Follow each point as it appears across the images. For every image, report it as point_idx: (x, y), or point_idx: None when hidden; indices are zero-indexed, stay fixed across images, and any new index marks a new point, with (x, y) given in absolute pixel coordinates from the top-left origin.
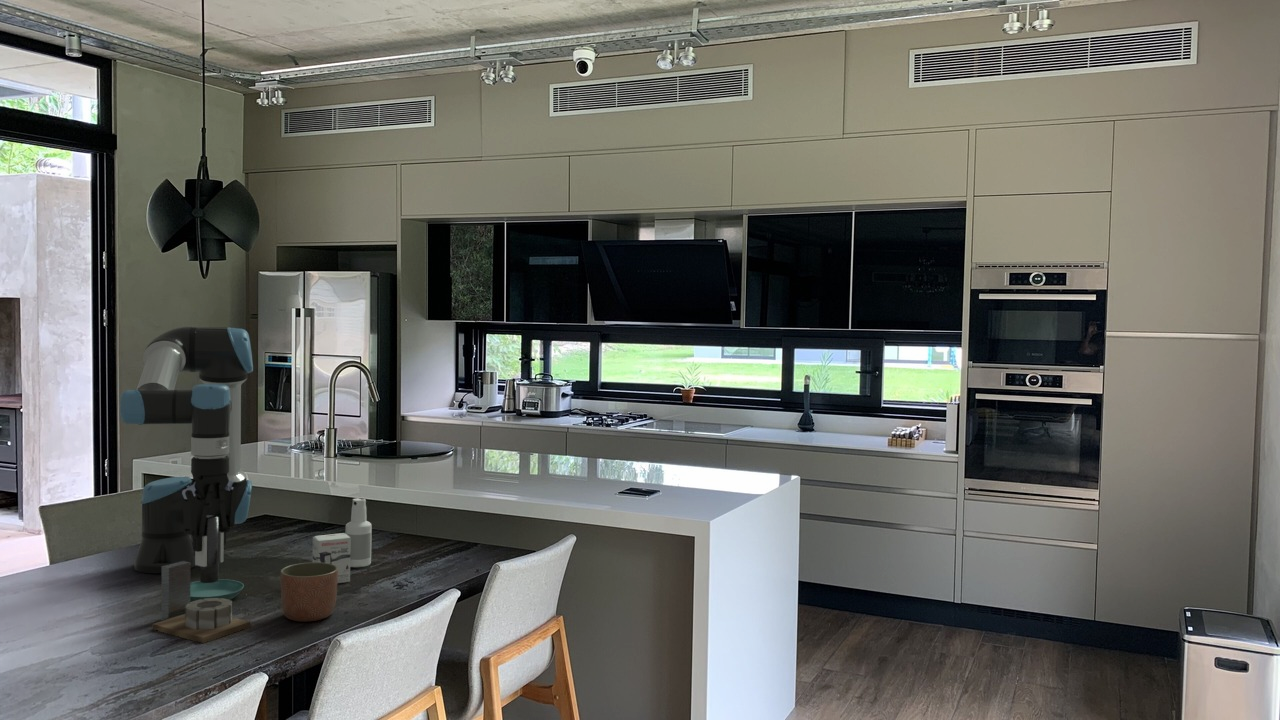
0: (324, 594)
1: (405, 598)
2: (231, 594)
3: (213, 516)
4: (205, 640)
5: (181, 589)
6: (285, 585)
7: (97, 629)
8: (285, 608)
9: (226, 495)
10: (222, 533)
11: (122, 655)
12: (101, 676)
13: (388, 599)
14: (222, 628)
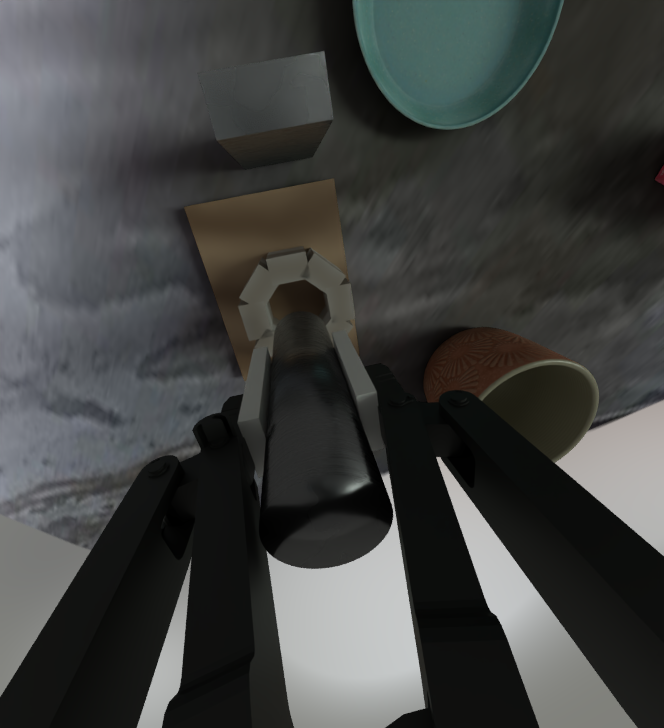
0: None
1: (624, 392)
2: (457, 126)
3: (350, 530)
4: None
5: (284, 148)
6: None
7: (45, 63)
8: (427, 382)
9: (638, 656)
10: (374, 447)
11: (84, 335)
12: (30, 413)
13: (609, 378)
14: None
